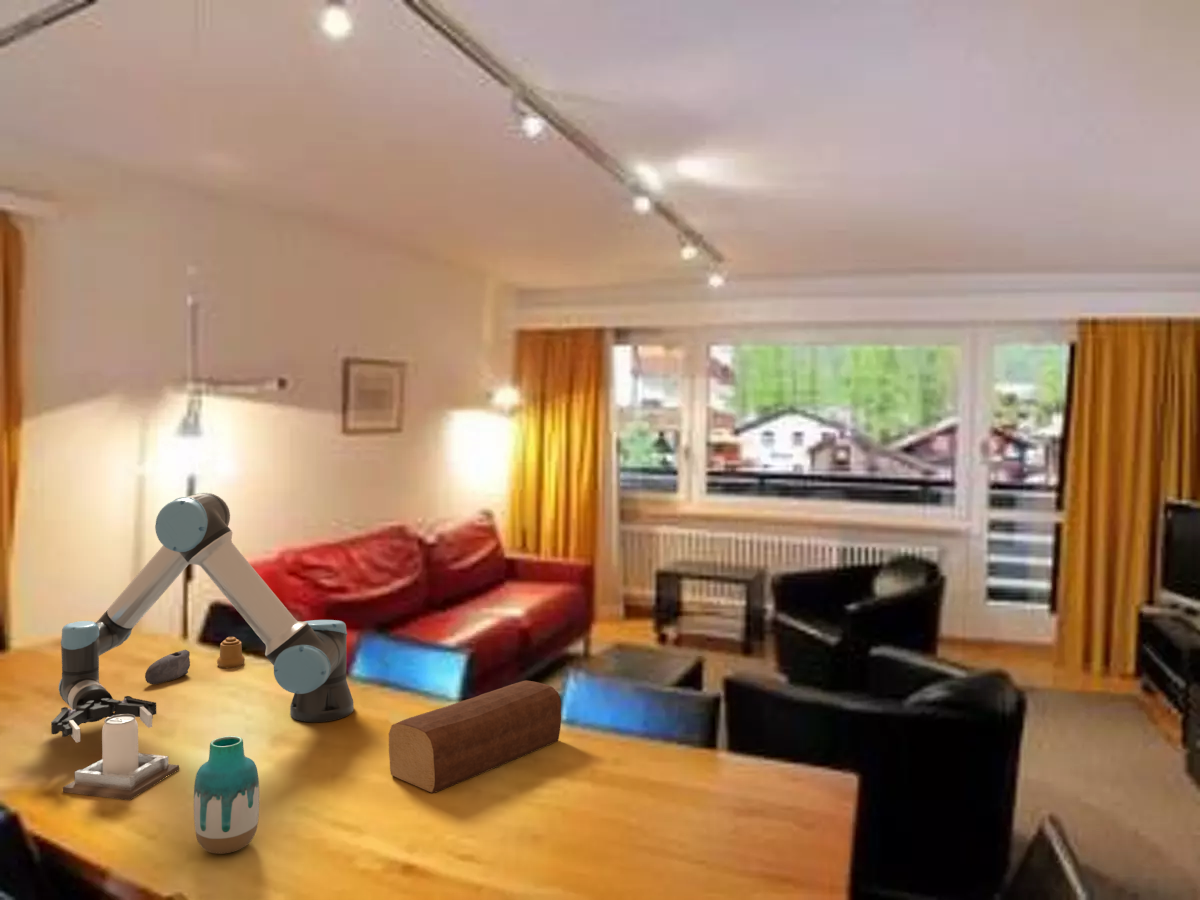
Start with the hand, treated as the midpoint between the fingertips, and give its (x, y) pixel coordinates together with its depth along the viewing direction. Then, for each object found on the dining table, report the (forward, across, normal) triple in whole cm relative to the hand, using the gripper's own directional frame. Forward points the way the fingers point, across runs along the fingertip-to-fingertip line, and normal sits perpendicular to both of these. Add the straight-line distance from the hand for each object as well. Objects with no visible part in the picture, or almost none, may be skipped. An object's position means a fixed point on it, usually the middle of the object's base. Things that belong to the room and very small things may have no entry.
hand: (115, 728), depth 192 cm
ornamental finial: (-63, -45, -10) cm, 78 cm away
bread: (+40, -64, -10) cm, 76 cm away
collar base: (+5, 0, -10) cm, 11 cm away
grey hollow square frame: (+5, 0, -10) cm, 11 cm away
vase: (+46, -7, -10) cm, 48 cm away
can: (+5, 0, -9) cm, 10 cm away
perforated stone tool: (-59, -27, -10) cm, 65 cm away
